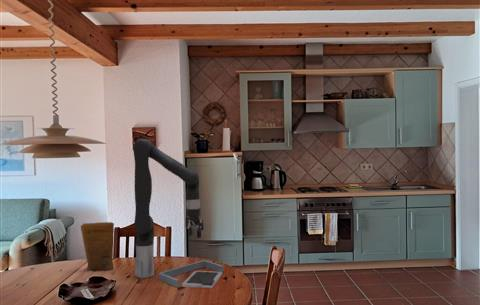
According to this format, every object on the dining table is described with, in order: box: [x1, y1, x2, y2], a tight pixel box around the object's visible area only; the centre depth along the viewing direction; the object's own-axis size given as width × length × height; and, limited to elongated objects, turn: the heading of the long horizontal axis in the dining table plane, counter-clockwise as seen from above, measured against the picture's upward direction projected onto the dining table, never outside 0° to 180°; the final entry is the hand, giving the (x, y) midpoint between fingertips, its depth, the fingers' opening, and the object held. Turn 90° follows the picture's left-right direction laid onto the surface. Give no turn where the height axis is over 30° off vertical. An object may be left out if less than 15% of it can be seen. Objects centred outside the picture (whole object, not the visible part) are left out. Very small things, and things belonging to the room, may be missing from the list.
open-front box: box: [158, 259, 224, 288], centre depth 210 cm, size 31×17×4 cm, turn 134°
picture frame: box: [181, 270, 223, 289], centre depth 203 cm, size 16×3×21 cm
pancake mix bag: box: [80, 221, 115, 272], centre depth 224 cm, size 7×19×28 cm, turn 83°
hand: (194, 236), depth 212 cm, fingers open, 8 cm apart
